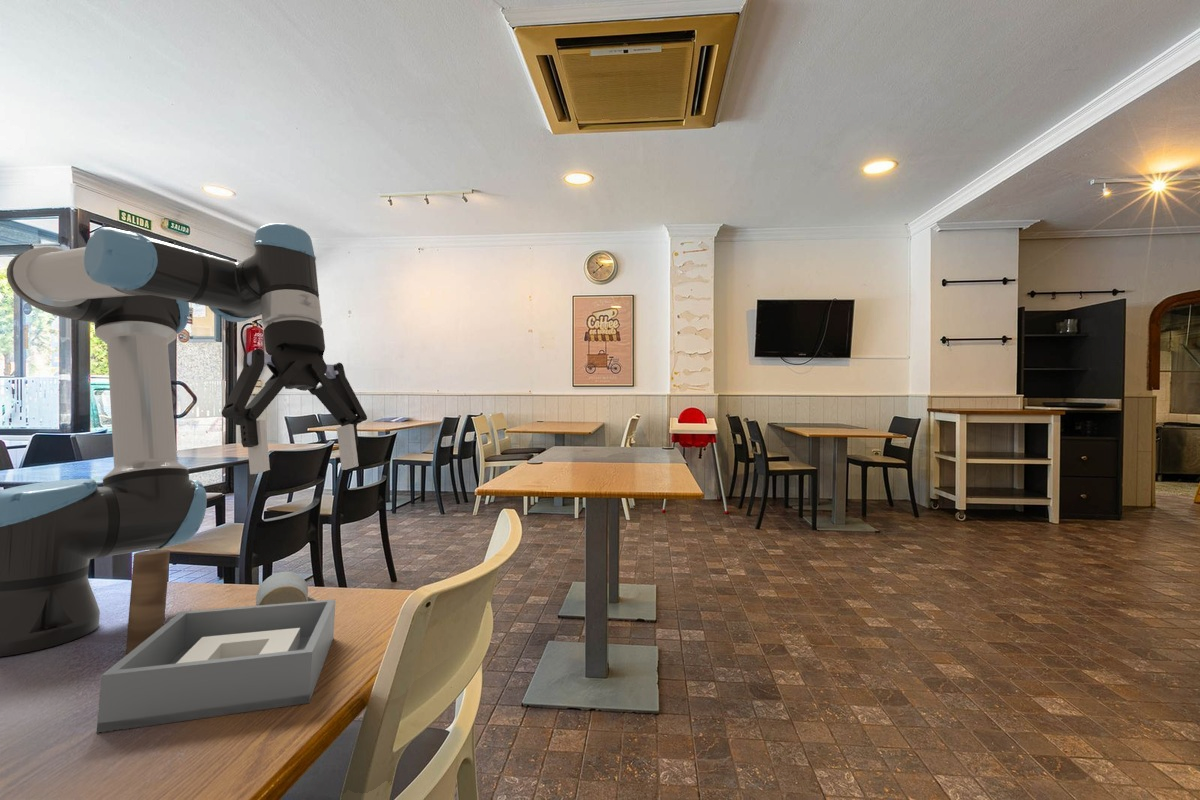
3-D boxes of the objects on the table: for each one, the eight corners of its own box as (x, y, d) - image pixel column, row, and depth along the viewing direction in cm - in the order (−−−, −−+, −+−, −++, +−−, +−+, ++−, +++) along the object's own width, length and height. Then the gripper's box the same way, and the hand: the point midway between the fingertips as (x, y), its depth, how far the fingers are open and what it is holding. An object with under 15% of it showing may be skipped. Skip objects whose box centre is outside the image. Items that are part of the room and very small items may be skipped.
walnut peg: (134, 646, 75) (142, 550, 76) (167, 643, 76) (174, 548, 77) (119, 658, 71) (128, 556, 72) (154, 654, 73) (162, 555, 74)
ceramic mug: (253, 635, 80) (258, 586, 80) (254, 619, 87) (258, 573, 87) (329, 624, 86) (333, 578, 86) (324, 609, 93) (327, 566, 93)
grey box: (177, 654, 73) (180, 611, 73) (333, 638, 80) (335, 599, 80) (96, 733, 54) (101, 675, 54) (309, 703, 61) (312, 651, 61)
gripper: (217, 295, 62) (231, 467, 58) (379, 336, 85) (396, 461, 81) (181, 315, 64) (191, 480, 61) (347, 349, 87) (362, 471, 84)
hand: (309, 470), depth 71 cm, fingers open, 13 cm apart
